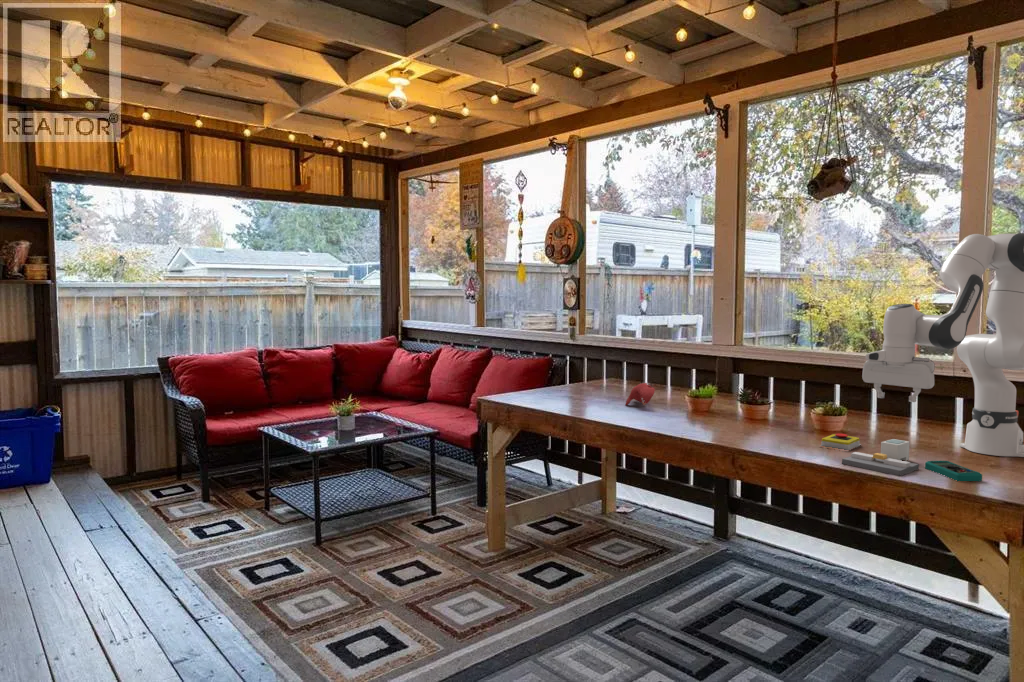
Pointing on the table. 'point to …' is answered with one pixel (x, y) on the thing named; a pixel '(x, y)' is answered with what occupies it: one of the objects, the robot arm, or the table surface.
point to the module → (896, 449)
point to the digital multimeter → (953, 471)
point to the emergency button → (840, 441)
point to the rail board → (880, 464)
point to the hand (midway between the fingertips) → (896, 399)
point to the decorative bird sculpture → (641, 393)
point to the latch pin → (880, 456)
